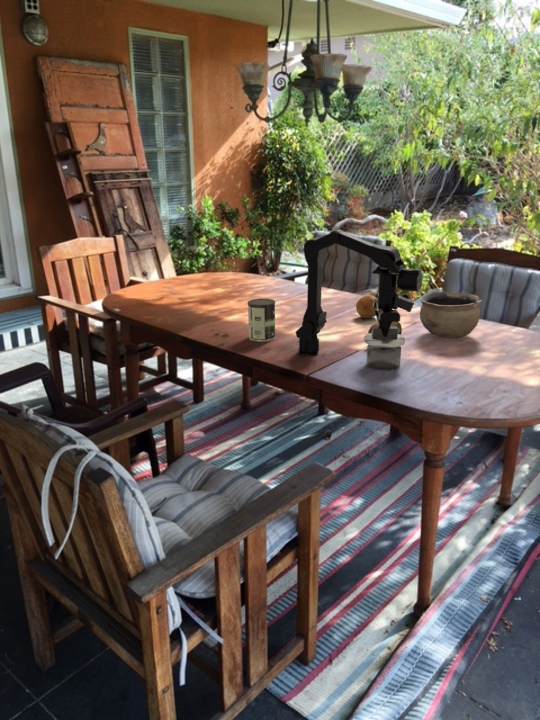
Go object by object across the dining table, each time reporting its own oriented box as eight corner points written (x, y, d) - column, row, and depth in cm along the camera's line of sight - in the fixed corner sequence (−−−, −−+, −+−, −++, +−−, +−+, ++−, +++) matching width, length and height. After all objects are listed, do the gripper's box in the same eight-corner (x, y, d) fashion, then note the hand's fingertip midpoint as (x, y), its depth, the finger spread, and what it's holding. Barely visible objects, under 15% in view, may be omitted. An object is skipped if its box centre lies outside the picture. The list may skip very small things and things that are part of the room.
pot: (368, 370, 195) (369, 352, 193) (362, 354, 210) (363, 337, 208) (402, 370, 194) (404, 352, 192) (394, 354, 209) (395, 337, 207)
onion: (356, 314, 259) (357, 291, 256) (379, 315, 257) (380, 292, 254) (354, 320, 250) (355, 296, 247) (378, 321, 248) (380, 297, 245)
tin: (372, 348, 215) (373, 326, 213) (365, 346, 218) (366, 324, 215) (401, 341, 223) (403, 319, 221) (395, 339, 226) (396, 317, 223)
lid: (366, 347, 191) (367, 333, 189) (361, 335, 203) (362, 321, 202) (407, 347, 191) (408, 333, 189) (400, 335, 203) (401, 322, 201)
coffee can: (273, 333, 234) (272, 297, 230) (277, 341, 225) (277, 304, 220) (246, 334, 233) (245, 299, 228) (250, 342, 223) (249, 305, 219)
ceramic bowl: (476, 347, 215) (480, 306, 210) (413, 342, 222) (416, 302, 217) (478, 330, 234) (482, 293, 229) (421, 326, 242) (424, 289, 237)
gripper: (418, 295, 182) (414, 344, 187) (407, 282, 199) (404, 327, 205) (381, 295, 182) (378, 344, 188) (373, 282, 200) (371, 327, 205)
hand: (384, 335), depth 196 cm, fingers closed on lid, 2 cm apart
